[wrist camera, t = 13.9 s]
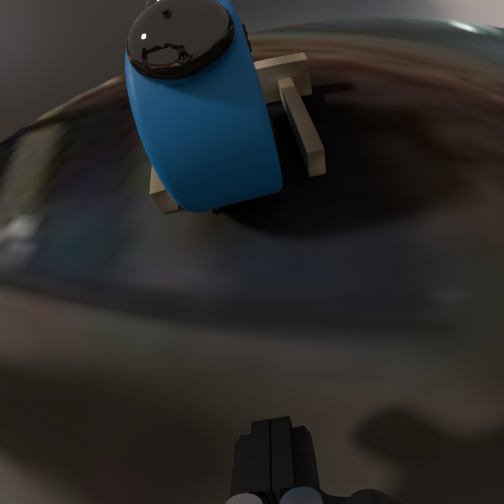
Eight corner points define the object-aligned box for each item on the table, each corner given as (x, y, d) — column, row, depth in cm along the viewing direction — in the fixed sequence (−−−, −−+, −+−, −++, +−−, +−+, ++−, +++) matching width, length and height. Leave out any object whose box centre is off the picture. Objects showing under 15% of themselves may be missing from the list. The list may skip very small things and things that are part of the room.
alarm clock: (197, 131, 28) (133, -12, 15) (262, 113, 27) (220, -41, 14) (206, 253, 21) (77, 57, 8) (297, 231, 21) (246, -6, 8)
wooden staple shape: (143, 219, 24) (117, 188, 21) (152, 128, 30) (136, 99, 26) (349, 168, 22) (349, 128, 19) (307, 86, 28) (303, 52, 25)
